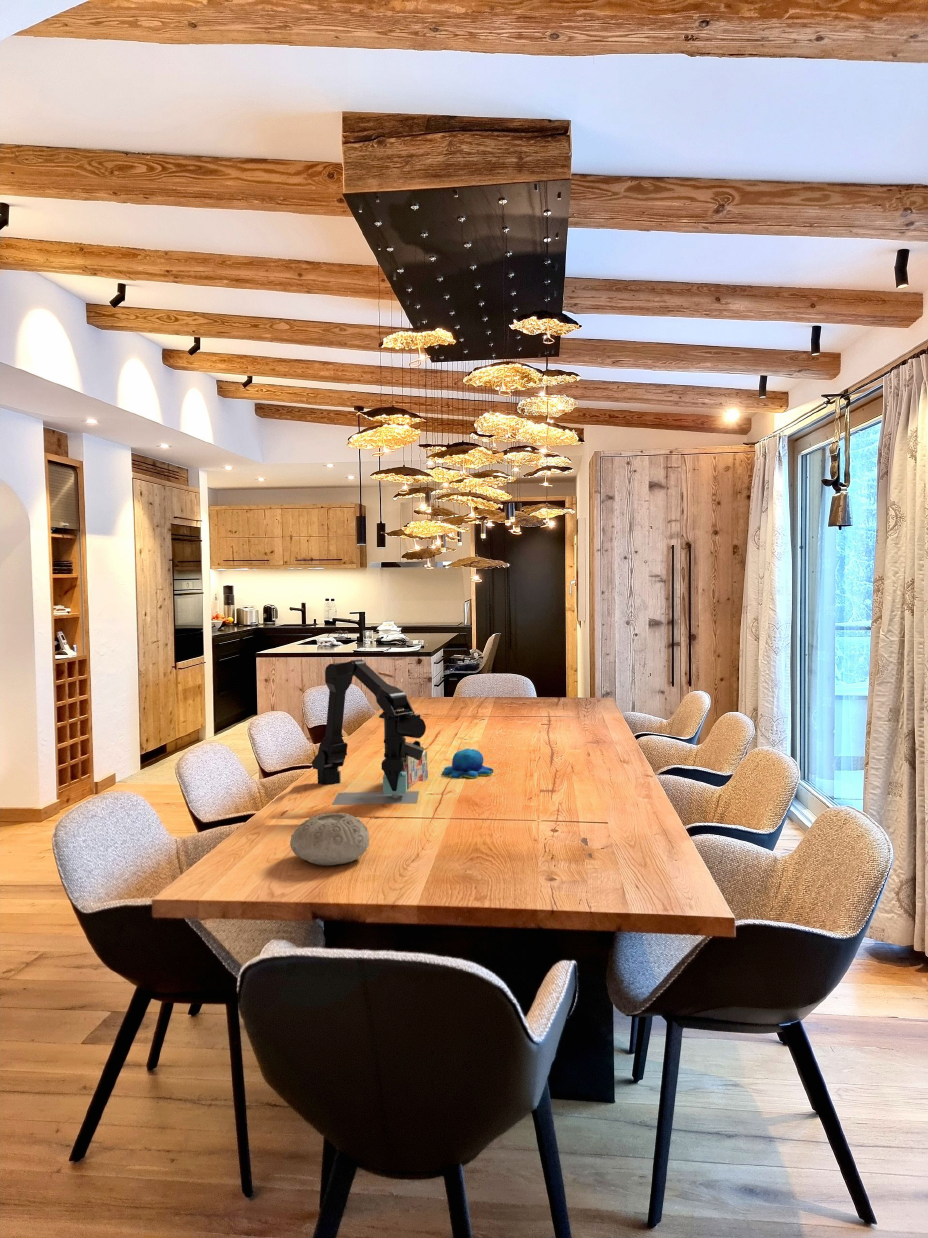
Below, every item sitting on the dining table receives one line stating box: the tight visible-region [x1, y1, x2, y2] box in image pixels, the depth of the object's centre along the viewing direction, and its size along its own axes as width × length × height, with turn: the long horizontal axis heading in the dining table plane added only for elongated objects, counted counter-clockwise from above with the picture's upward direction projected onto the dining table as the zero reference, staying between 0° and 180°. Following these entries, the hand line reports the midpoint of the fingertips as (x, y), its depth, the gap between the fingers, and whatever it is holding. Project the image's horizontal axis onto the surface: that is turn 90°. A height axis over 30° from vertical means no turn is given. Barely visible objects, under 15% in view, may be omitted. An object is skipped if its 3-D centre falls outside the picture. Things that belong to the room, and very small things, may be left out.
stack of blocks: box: [401, 750, 429, 790], centre depth 268 cm, size 21×6×12 cm, turn 167°
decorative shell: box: [289, 811, 370, 867], centre depth 196 cm, size 18×18×10 cm
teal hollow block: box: [382, 772, 408, 795], centre depth 247 cm, size 6×6×5 cm
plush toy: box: [441, 748, 494, 779], centre depth 285 cm, size 17×17×8 cm
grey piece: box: [331, 790, 420, 806], centre depth 247 cm, size 24×14×6 cm, turn 91°
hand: (395, 788), depth 247 cm, fingers closed on teal hollow block, 6 cm apart
